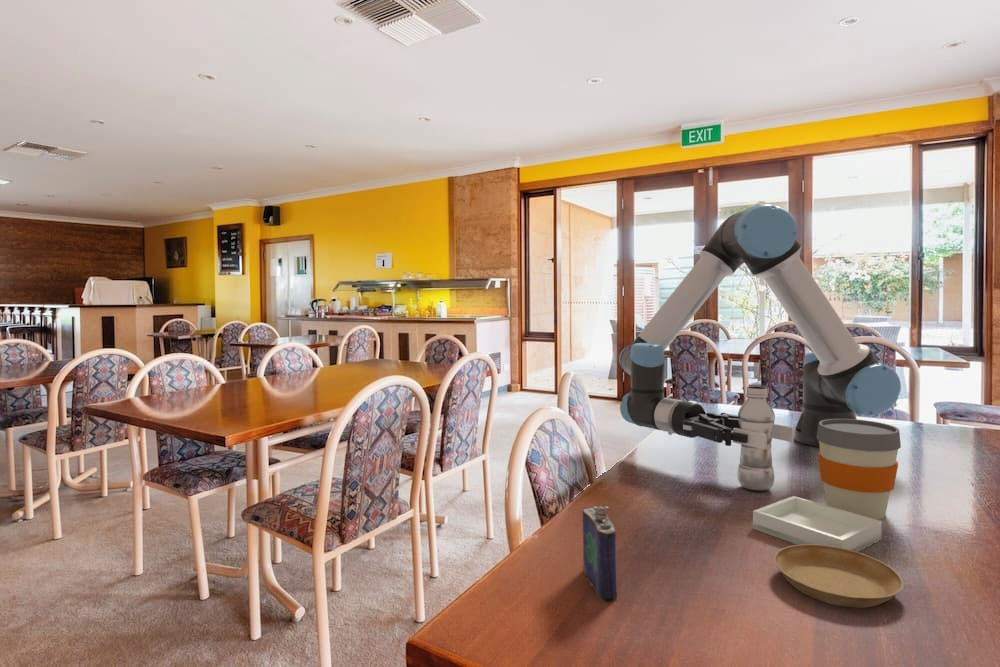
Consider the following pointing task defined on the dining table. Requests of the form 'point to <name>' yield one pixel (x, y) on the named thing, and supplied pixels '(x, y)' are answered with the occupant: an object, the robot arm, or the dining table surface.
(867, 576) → the plant saucer
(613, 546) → the flask
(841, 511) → the tray
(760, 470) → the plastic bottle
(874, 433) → the reusable coffee cup
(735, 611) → the dining table surface
